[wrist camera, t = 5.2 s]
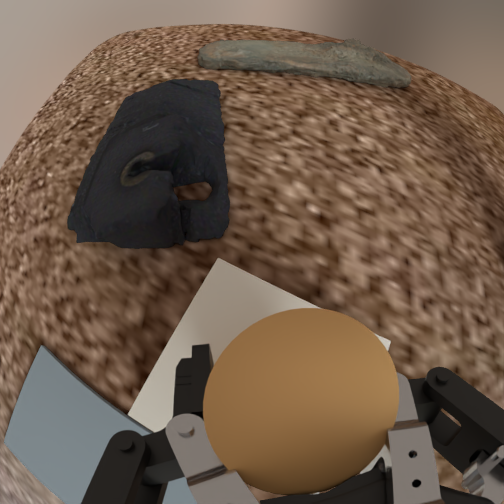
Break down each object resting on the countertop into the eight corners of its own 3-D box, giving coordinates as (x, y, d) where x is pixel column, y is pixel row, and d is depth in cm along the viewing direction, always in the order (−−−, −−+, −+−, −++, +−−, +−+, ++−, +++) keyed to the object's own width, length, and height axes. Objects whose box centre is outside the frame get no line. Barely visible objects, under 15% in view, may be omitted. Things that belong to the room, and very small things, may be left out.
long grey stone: (201, 58, 37) (198, 89, 34) (198, 32, 32) (193, 59, 29) (393, 68, 39) (416, 100, 35) (401, 47, 34) (428, 77, 30)
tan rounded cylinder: (247, 328, 15) (263, 274, 7) (326, 365, 15) (421, 350, 6) (205, 405, 13) (167, 447, 5) (287, 442, 13) (346, 510, 4)
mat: (45, 346, 17) (41, 345, 16) (240, 476, 15) (240, 479, 14) (7, 441, 12) (3, 442, 12) (174, 563, 10) (173, 566, 9)
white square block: (221, 279, 21) (218, 257, 17) (364, 348, 19) (390, 341, 15) (147, 407, 16) (127, 414, 13) (300, 478, 15) (315, 498, 11)
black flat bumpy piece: (237, 93, 31) (238, 62, 27) (228, 255, 22) (226, 225, 18) (123, 100, 30) (115, 72, 26) (62, 250, 21) (35, 225, 17)
